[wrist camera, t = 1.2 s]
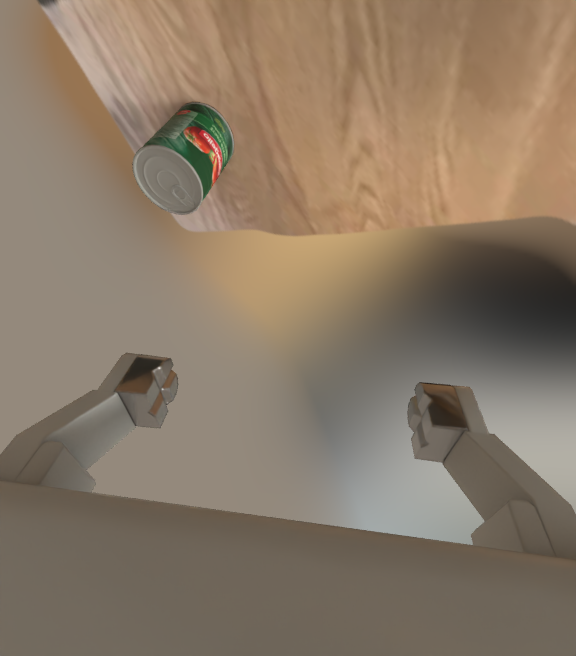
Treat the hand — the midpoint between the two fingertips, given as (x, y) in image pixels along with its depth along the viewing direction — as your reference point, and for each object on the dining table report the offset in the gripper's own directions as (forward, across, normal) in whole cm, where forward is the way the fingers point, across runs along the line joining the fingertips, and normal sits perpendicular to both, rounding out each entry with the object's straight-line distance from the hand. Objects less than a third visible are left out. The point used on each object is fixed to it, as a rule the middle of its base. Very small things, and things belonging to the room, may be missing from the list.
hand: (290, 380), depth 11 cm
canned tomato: (+39, +16, +1) cm, 42 cm away
